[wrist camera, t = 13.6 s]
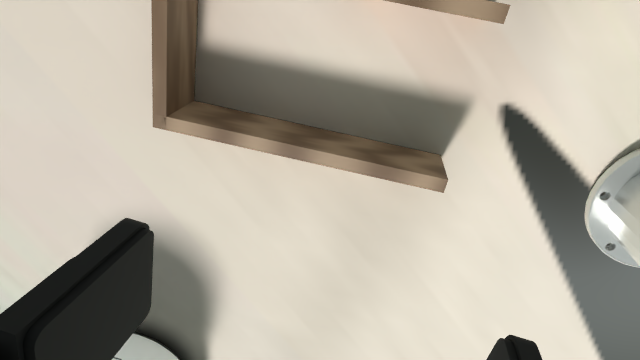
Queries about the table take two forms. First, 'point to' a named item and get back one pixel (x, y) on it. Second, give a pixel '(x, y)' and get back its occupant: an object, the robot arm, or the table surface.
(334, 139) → the angular wooden frame
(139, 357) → the milk container
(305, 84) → the table surface
